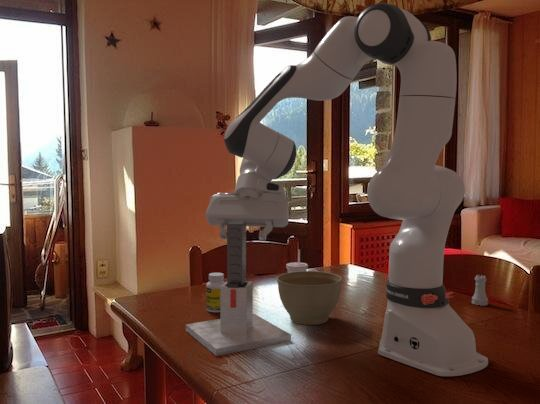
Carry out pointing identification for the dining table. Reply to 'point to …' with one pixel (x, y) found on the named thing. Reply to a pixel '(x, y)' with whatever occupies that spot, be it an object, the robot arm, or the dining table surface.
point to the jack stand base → (236, 324)
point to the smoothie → (296, 265)
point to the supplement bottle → (214, 292)
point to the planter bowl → (309, 295)
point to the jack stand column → (236, 253)
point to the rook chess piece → (480, 291)
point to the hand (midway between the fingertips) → (242, 238)
